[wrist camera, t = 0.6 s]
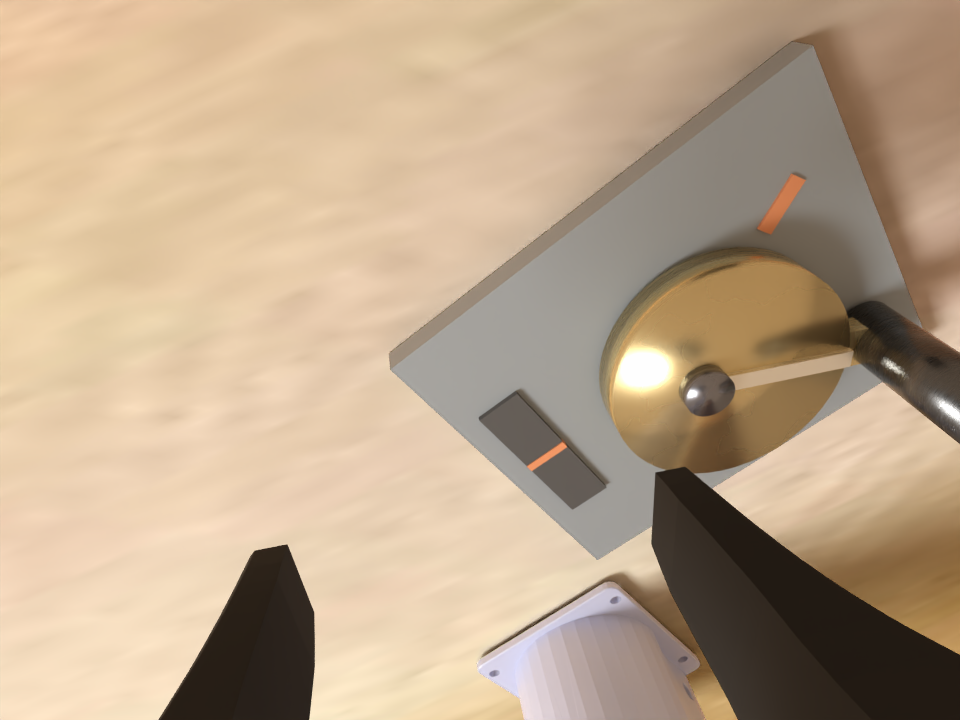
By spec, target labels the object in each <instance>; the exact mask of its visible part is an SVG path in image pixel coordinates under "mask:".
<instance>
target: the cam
mask: <svg viewBox="0 0 960 720" xmlns="http://www.w3.org/2000/svg"><path fill="white" fill-rule="evenodd" d="M858 364H861V365H862V366H863V367H865V368H866V369H867V370H868V371H870V372H871V373H872V374H873V375H875V376H876V377H877V378H878V379H880V380H881V381H882V382H883V383H885V384H886V385H887V386H888V387H890V388H891V389H892V390H893V391H895V392H896V393H897V394H898V395H900V396H901V397H902V398H903V399H905V400H906V401H907V402H908V403H910V404H911V405H912V406H913V407H915V408H916V409H917V410H918V411H919V412H921V413H922V414H923V415H924V416H926V417H927V418H928V419H929V420H931V421H932V422H933V423H934V424H936V425H937V426H938V427H939V428H941V429H942V430H943V431H944V432H946V433H947V434H948V435H949V436H951V437H952V438H953V439H954V440H956V441H957V442H958V443H959V444H960V353H959V352H958V351H956V350H955V349H953V348H952V347H950V346H949V345H947V344H946V343H944V342H943V341H941V340H939V339H938V338H936V337H935V336H933V335H932V334H930V333H929V332H927V331H926V330H924V329H923V328H921V327H919V326H918V325H916V324H915V323H913V322H912V321H910V320H909V319H907V318H906V317H904V316H903V315H901V314H900V313H898V312H896V311H895V310H893V309H892V308H890V307H889V306H887V305H886V304H884V303H882V302H879V301H868V302H865V303H862V304H860V305H858V306H856V307H854V308H853V309H851V310H850V311H849V312H848V313H846V310H845V307H844V305H843V303H842V302H841V300H840V298H839V297H838V295H837V294H836V293H835V291H834V290H833V289H832V288H831V287H830V286H829V285H828V284H827V283H825V282H824V281H823V280H821V279H820V278H819V277H817V276H816V275H814V274H813V273H811V272H810V271H808V270H807V269H805V268H804V267H803V266H801V265H800V264H798V263H797V262H795V261H794V260H792V259H791V258H789V257H787V256H785V255H783V254H781V253H778V252H774V251H771V250H768V249H762V248H755V247H734V248H726V249H719V250H715V251H711V252H708V253H704V254H701V255H699V256H696V257H693V258H691V259H688V260H686V261H684V262H682V263H680V264H678V265H676V266H674V267H673V268H671V269H669V270H668V271H666V272H665V273H663V274H662V275H660V276H659V277H657V278H656V279H655V280H654V281H652V282H651V283H650V284H649V285H647V286H646V287H645V288H644V289H643V290H642V291H641V292H640V293H639V294H638V295H637V296H636V297H635V298H634V299H633V300H632V301H631V302H630V303H629V305H628V306H627V307H626V308H625V310H624V311H623V312H622V314H621V315H620V317H619V318H618V320H617V321H616V323H615V324H614V326H613V328H612V330H611V332H610V334H609V336H608V338H607V341H606V344H605V347H604V350H603V352H602V357H601V362H600V368H599V385H600V393H601V396H602V400H603V403H604V405H605V408H606V410H607V412H608V414H609V416H610V417H611V419H612V421H613V423H614V425H615V426H616V428H617V430H618V432H619V434H620V435H621V437H622V439H623V440H624V442H625V443H626V444H627V446H628V447H629V448H630V449H631V450H632V451H633V452H634V453H635V454H636V455H637V456H638V457H640V458H641V459H643V460H644V461H646V462H647V463H649V464H651V465H654V466H656V467H658V468H661V469H665V470H670V469H675V468H681V467H686V468H688V469H689V470H690V471H691V472H693V473H694V474H697V473H710V472H716V471H722V470H726V469H730V468H734V467H737V466H740V465H743V464H745V463H748V462H751V461H753V460H755V459H757V458H759V457H762V456H764V455H765V454H767V453H769V452H771V451H772V450H774V449H776V448H778V447H779V446H781V445H782V444H783V443H785V442H786V441H788V440H789V439H791V438H792V437H793V436H794V435H796V434H797V433H798V432H799V431H800V430H802V429H803V428H804V427H805V426H806V425H807V424H808V423H809V422H810V421H811V420H812V419H813V418H814V417H815V416H816V414H817V413H818V412H819V411H820V410H821V409H822V407H823V406H824V405H825V403H826V402H827V400H828V399H829V398H830V396H831V395H832V393H833V391H834V389H835V388H836V386H837V384H838V382H839V380H840V378H841V375H842V373H843V371H844V368H846V367H850V366H853V365H858Z"/></svg>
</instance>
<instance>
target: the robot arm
mask: <svg viewBox="0 0 960 720" xmlns="http://www.w3.org/2000/svg"><path fill="white" fill-rule="evenodd" d="M651 544H652V547H653V549H654V552H655V555H656V557H657V560H658V562H659V565H660V568H661V570H662V573H663V575H664V578H665V580H666V582H667V585H668V587H669V590H670V592H671V594H672V596H673V598H674V600H675V602H676V604H677V606H678V607H679V609H680V611H681V613H682V615H683V617H684V619H685V621H686V622H687V624H688V626H689V628H690V630H691V632H692V634H693V636H694V637H695V639H696V641H697V643H698V645H699V647H700V648H701V650H702V652H703V654H704V656H705V658H706V660H707V661H708V663H709V665H710V667H711V669H712V671H713V672H714V674H715V676H716V678H717V680H718V682H719V684H720V685H721V687H722V689H723V691H724V693H725V695H726V697H727V698H728V700H729V702H730V704H731V707H732V709H733V711H734V713H735V715H736V717H737V719H738V720H960V655H959V654H957V653H955V652H953V651H952V650H950V649H948V648H946V647H944V646H942V645H940V644H938V643H937V642H935V641H933V640H931V639H929V638H927V637H925V636H923V635H921V634H920V633H918V632H916V631H914V630H912V629H910V628H908V627H907V626H905V625H903V624H901V623H900V622H898V621H896V620H894V619H893V618H891V617H889V616H887V615H886V614H884V613H882V612H881V611H879V610H877V609H876V608H874V607H872V606H871V605H869V604H868V603H866V602H864V601H863V600H861V599H859V598H858V597H856V596H855V595H853V594H851V593H850V592H848V591H847V590H845V589H844V588H842V587H840V586H839V585H837V584H836V583H835V582H833V581H832V580H830V579H829V578H827V577H826V576H824V575H823V574H821V573H820V572H818V571H817V570H816V569H814V568H813V567H811V566H810V565H809V564H807V563H806V562H804V561H803V560H801V559H800V558H799V557H797V556H796V555H795V554H793V553H792V552H791V551H789V550H788V549H786V548H785V547H784V546H782V545H781V544H780V543H779V542H777V541H776V540H775V539H773V538H772V537H771V536H770V535H768V534H767V533H766V532H764V531H763V530H762V529H760V528H759V527H758V526H757V525H755V524H754V523H753V522H752V521H750V520H749V519H748V518H747V517H745V516H744V515H743V514H742V513H740V512H739V511H738V510H737V509H736V508H734V507H733V506H732V505H731V504H729V503H728V502H727V501H726V500H725V499H723V498H722V497H721V496H720V495H719V494H717V493H716V492H715V491H714V490H713V489H712V488H710V487H709V486H708V485H707V484H706V483H704V482H703V481H702V480H701V479H700V478H699V477H697V476H696V475H695V474H694V473H693V472H691V471H690V470H689V469H688V468H686V467H681V468H675V469H670V470H665V471H660V472H655V487H654V505H653V524H652V542H651ZM699 666H700V662H699V660H698V658H697V656H696V655H695V654H694V653H693V652H691V651H690V650H689V649H688V648H687V647H686V646H685V645H684V644H683V643H682V642H680V641H679V640H678V639H677V638H676V637H675V636H674V635H673V634H672V633H671V632H669V631H668V630H667V629H666V628H665V627H664V626H663V625H662V624H661V623H660V622H658V621H657V620H656V619H655V618H654V617H653V616H652V615H651V614H650V613H649V612H647V611H646V610H645V609H644V608H643V607H642V606H641V605H640V604H639V603H638V602H636V601H635V600H634V599H633V598H632V597H631V596H630V595H629V594H628V593H627V592H625V591H624V590H623V589H622V588H621V587H620V586H619V585H618V584H617V583H615V582H610V581H609V582H605V583H603V584H601V585H599V586H598V587H596V588H595V589H593V590H591V591H590V592H588V593H586V594H585V595H583V596H582V597H580V598H578V599H577V600H575V601H573V602H572V603H570V604H569V605H567V606H565V607H564V608H562V609H560V610H559V611H557V612H556V613H554V614H552V615H551V616H549V617H547V618H546V619H544V620H543V621H541V622H539V623H538V624H536V625H534V626H533V627H531V628H529V629H528V630H526V631H525V632H523V633H521V634H520V635H518V636H516V637H515V638H513V639H512V640H510V641H508V642H507V643H505V644H503V645H502V646H500V647H499V648H497V649H495V650H494V651H492V652H490V653H489V654H487V655H486V656H484V657H482V658H481V659H480V660H479V661H478V662H477V669H478V672H479V673H480V674H481V675H483V676H484V677H486V678H488V679H489V680H491V681H492V682H494V683H496V684H497V685H499V686H500V687H502V688H504V689H505V690H507V691H508V692H510V693H512V694H513V695H515V696H516V697H518V698H519V699H520V703H521V707H522V712H523V716H524V720H706V719H705V717H704V714H703V712H702V710H701V708H700V706H699V703H698V701H697V699H696V697H695V695H694V693H693V690H692V688H691V686H690V684H689V682H688V679H687V677H686V675H688V674H690V673H691V672H693V671H695V670H696V669H698V668H699ZM314 668H315V632H314V611H313V608H312V606H311V603H310V601H309V598H308V596H307V593H306V591H305V588H304V586H303V583H302V580H301V578H300V575H299V573H298V570H297V568H296V565H295V563H294V560H293V557H292V555H291V552H290V550H289V547H288V545H282V546H276V547H271V548H266V549H261V550H256V551H254V552H253V554H252V555H251V556H250V558H249V560H248V562H247V564H246V566H245V568H244V570H243V572H242V574H241V576H240V578H239V580H238V582H237V584H236V586H235V588H234V590H233V592H232V594H231V596H230V598H229V600H228V602H227V604H226V606H225V608H224V609H223V611H222V613H221V615H220V617H219V619H218V621H217V623H216V624H215V626H214V628H213V630H212V632H211V633H210V635H209V637H208V639H207V640H206V642H205V644H204V646H203V648H202V649H201V651H200V653H199V655H198V656H197V658H196V660H195V662H194V663H193V665H192V667H191V668H190V670H189V672H188V673H187V675H186V677H185V678H184V680H183V681H182V683H181V685H180V686H179V688H178V689H177V691H176V693H175V694H174V696H173V698H172V699H171V701H170V702H169V704H168V706H167V707H166V709H165V710H164V712H163V714H162V715H161V717H160V718H159V720H309V716H310V707H311V697H312V688H313V678H314Z"/></svg>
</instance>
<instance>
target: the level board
mask: <svg viewBox="0 0 960 720" xmlns="http://www.w3.org/2000/svg"><path fill="white" fill-rule="evenodd" d="M734 247H755V248H762V249H768V250H771V251H774V252H778V253H781V254H783V255H785V256H787V257H789V258H791V259H792V260H794V261H795V262H797V263H798V264H800V265H801V266H803V267H804V268H805V269H807V270H808V271H810V272H811V273H813V274H814V275H816V276H817V277H819V278H820V279H821V280H823V281H824V282H825V283H827V284H828V285H829V286H830V287H831V288H832V289H833V290H834V291H835V293H836V294H837V295H838V297H839V298H840V300H841V302H842V303H843V305H844V307H845V310H846V313H848V312H849V311H850V310H851V309H853V308H854V307H856V306H858V305H860V304H862V303H865V302H868V301H879V302H882V303H884V304H886V305H887V306H889V307H890V308H892V309H893V310H895V311H896V312H898V313H900V314H901V315H903V316H904V317H906V318H907V319H909V320H910V321H912V322H913V323H915V324H916V325H918V326H919V327H921V328H922V325H921V323H920V320H919V318H918V315H917V312H916V310H915V307H914V305H913V302H912V299H911V297H910V294H909V292H908V289H907V287H906V284H905V281H904V279H903V276H902V274H901V271H900V268H899V266H898V263H897V261H896V258H895V256H894V253H893V250H892V248H891V245H890V243H889V240H888V237H887V235H886V232H885V230H884V227H883V225H882V222H881V219H880V217H879V214H878V212H877V209H876V206H875V204H874V201H873V199H872V196H871V194H870V191H869V188H868V186H867V183H866V181H865V178H864V175H863V173H862V170H861V168H860V165H859V163H858V160H857V157H856V155H855V152H854V150H853V147H852V144H851V142H850V139H849V137H848V134H847V132H846V129H845V126H844V124H843V121H842V119H841V116H840V113H839V111H838V108H837V106H836V103H835V101H834V98H833V95H832V93H831V90H830V88H829V85H828V82H827V80H826V77H825V75H824V72H823V70H822V67H821V64H820V62H819V59H818V57H817V54H816V51H815V49H814V46H813V45H809V44H803V43H798V42H793V41H792V42H790V43H789V44H788V45H787V46H785V47H784V48H783V49H781V50H780V51H779V52H778V53H776V54H775V55H774V56H772V57H771V58H770V59H769V60H767V61H766V62H765V63H763V64H762V65H761V66H759V67H758V68H757V69H756V70H754V71H753V72H752V73H750V74H749V75H748V76H747V77H745V78H744V79H743V80H741V81H740V82H739V83H738V84H736V85H735V86H734V87H732V88H731V89H730V90H728V91H727V92H726V93H725V94H723V95H722V96H721V97H719V98H718V99H717V100H716V101H714V102H713V103H712V104H710V105H709V106H708V107H707V108H705V109H704V110H703V111H701V112H700V113H699V114H698V115H696V116H695V117H694V118H692V119H691V120H690V121H688V122H687V123H686V124H685V125H683V126H682V127H681V128H679V129H678V130H677V131H676V132H674V133H673V134H672V135H670V136H669V137H668V138H667V139H665V140H664V141H663V142H661V143H660V144H659V145H657V146H656V147H655V148H654V149H652V150H651V151H650V152H648V153H647V154H646V155H645V156H643V157H642V158H641V159H639V160H638V161H637V162H636V163H634V164H633V165H632V166H630V167H629V168H628V169H627V170H625V171H624V172H623V173H621V174H620V175H619V176H617V177H616V178H615V179H614V180H612V181H611V182H610V183H608V184H607V185H606V186H605V187H603V188H602V189H601V190H599V191H598V192H597V193H596V194H594V195H593V196H592V197H590V198H589V199H588V200H586V201H585V202H584V203H583V204H581V205H580V206H579V207H577V208H576V209H575V210H574V211H572V212H571V213H570V214H568V215H567V216H566V217H565V218H563V219H562V220H561V221H559V222H558V223H557V224H555V225H554V226H553V227H552V228H550V229H549V230H548V231H546V232H545V233H544V234H543V235H541V236H540V237H539V238H537V239H536V240H535V241H534V242H532V243H531V244H530V245H528V246H527V247H526V248H525V249H523V250H522V251H521V252H519V253H518V254H517V255H515V256H514V257H513V258H512V259H510V260H509V261H508V262H506V263H505V264H504V265H503V266H501V267H500V268H499V269H497V270H496V271H495V272H494V273H492V274H491V275H490V276H488V277H487V278H486V279H484V280H483V281H482V282H481V283H479V284H478V285H477V286H475V287H474V288H473V289H472V290H470V291H469V292H468V293H466V294H465V295H464V296H463V297H461V298H460V299H459V300H457V301H456V302H455V303H453V304H452V305H451V306H450V307H448V308H447V309H446V310H444V311H443V312H442V313H441V314H439V315H438V316H437V317H435V318H434V319H433V320H432V321H430V322H429V323H428V324H426V325H425V326H424V327H423V328H421V329H420V330H419V331H417V332H416V333H415V334H413V335H412V336H411V337H410V338H408V339H407V340H406V341H404V342H403V343H402V344H401V345H399V346H398V347H397V348H395V349H394V350H393V351H392V352H390V353H389V360H390V370H391V371H392V372H393V373H394V374H396V375H397V376H398V377H399V378H400V379H401V380H402V381H403V382H404V383H405V384H406V385H408V386H409V387H410V388H411V389H412V390H413V391H414V392H415V393H416V394H417V395H418V396H419V397H421V398H422V399H423V400H424V401H425V402H426V403H427V404H428V405H429V406H430V407H431V408H433V409H434V410H435V411H436V412H437V413H438V414H439V415H440V416H441V417H442V418H443V419H445V420H446V421H447V422H448V423H449V424H450V425H451V426H452V427H453V428H454V429H455V430H456V431H458V432H459V433H460V434H461V435H462V436H463V437H464V438H465V439H466V440H467V441H468V442H470V443H471V444H472V445H473V446H474V447H475V448H476V449H477V450H478V451H479V452H480V453H482V454H483V455H484V456H485V457H486V458H487V459H488V460H489V461H490V462H491V463H492V464H493V465H495V466H496V467H497V468H498V469H499V470H500V471H501V472H502V473H503V474H504V475H505V476H507V477H508V478H509V479H510V480H511V481H512V482H513V483H514V484H515V485H516V486H517V487H519V488H520V489H521V490H522V491H523V492H524V493H525V494H526V495H527V496H528V497H529V498H530V499H532V500H533V501H534V502H535V503H536V504H537V505H538V506H539V507H540V508H541V509H542V510H544V511H545V512H546V513H547V514H548V515H549V516H550V517H551V518H552V519H553V520H554V521H556V522H557V523H558V524H559V525H560V526H561V527H562V528H563V529H564V530H565V531H566V532H567V533H569V534H570V535H571V536H572V537H573V538H574V539H575V540H576V541H577V542H578V543H579V544H581V545H582V546H583V547H584V548H585V549H586V550H587V551H588V552H589V553H590V554H591V555H593V556H594V557H595V558H596V559H597V560H598V559H600V558H602V557H603V556H605V555H606V554H608V553H610V552H611V551H613V550H614V549H616V548H618V547H619V546H621V545H622V544H624V543H626V542H627V541H629V540H630V539H632V538H634V537H635V536H637V535H638V534H640V533H642V532H643V531H645V530H646V529H648V528H650V527H651V526H652V524H653V505H654V487H655V472H660V471H665V469H661V468H658V467H656V466H654V465H651V464H649V463H647V462H646V461H644V460H643V459H641V458H640V457H638V456H637V455H636V454H635V453H634V452H633V451H632V450H631V449H630V448H629V447H628V446H627V444H626V443H625V442H624V440H623V439H622V437H621V435H620V434H619V432H618V430H617V428H616V426H615V425H614V423H613V421H612V419H611V417H610V416H609V414H608V412H607V410H606V408H605V405H604V403H603V400H602V396H601V393H600V385H599V368H600V362H601V357H602V352H603V350H604V347H605V344H606V341H607V338H608V336H609V334H610V332H611V330H612V328H613V326H614V324H615V323H616V321H617V320H618V318H619V317H620V315H621V314H622V312H623V311H624V310H625V308H626V307H627V306H628V305H629V303H630V302H631V301H632V300H633V299H634V298H635V297H636V296H637V295H638V294H639V293H640V292H641V291H642V290H643V289H644V288H645V287H646V286H647V285H649V284H650V283H651V282H652V281H654V280H655V279H656V278H657V277H659V276H660V275H662V274H663V273H665V272H666V271H668V270H669V269H671V268H673V267H674V266H676V265H678V264H680V263H682V262H684V261H686V260H688V259H691V258H693V257H696V256H699V255H701V254H704V253H708V252H711V251H715V250H719V249H726V248H734ZM881 382H882V381H881V380H880V379H878V378H877V377H876V376H875V375H873V374H872V373H871V372H870V371H868V370H867V369H866V368H865V367H863V366H862V365H861V364H858V365H853V366H850V367H846V368H844V371H843V373H842V375H841V378H840V380H839V382H838V384H837V386H836V388H835V389H834V391H833V393H832V395H831V396H830V398H829V399H828V400H827V402H826V403H825V405H824V406H823V407H822V409H821V410H820V411H819V412H818V413H817V414H816V416H815V417H814V418H813V419H812V420H811V421H810V422H809V423H808V424H807V425H806V426H805V427H804V428H803V429H802V430H800V431H799V432H798V433H797V434H796V435H794V436H793V437H795V436H797V435H798V434H800V433H801V432H803V431H805V430H806V429H808V428H809V427H811V426H813V425H814V424H816V423H817V422H819V421H821V420H822V419H824V418H825V417H827V416H829V415H830V414H832V413H833V412H835V411H837V410H838V409H840V408H841V407H843V406H845V405H846V404H848V403H849V402H851V401H853V400H854V399H856V398H857V397H859V396H861V395H862V394H864V393H865V392H867V391H869V390H870V389H872V388H873V387H875V386H877V385H878V384H880V383H881ZM793 437H792V438H793ZM792 438H791V439H792ZM789 440H790V439H789ZM789 440H788V441H789ZM786 442H787V441H786ZM783 444H784V443H783ZM772 451H773V450H772ZM767 454H768V453H767ZM765 455H766V454H765ZM765 455H764V456H765ZM762 457H763V456H762ZM760 458H761V457H759V458H757V459H755V460H753V461H751V462H748V463H745V464H743V465H740V466H737V467H734V468H730V469H726V470H722V471H716V472H710V473H697V474H695V475H696V476H697V477H699V478H700V479H701V480H702V481H703V482H704V483H706V484H707V485H708V486H709V487H710V488H714V487H715V486H717V485H718V484H720V483H722V482H723V481H725V480H726V479H728V478H730V477H731V476H733V475H734V474H736V473H738V472H739V471H741V470H742V469H744V468H746V467H747V466H749V465H750V464H752V463H754V462H755V461H757V460H758V459H760Z"/></svg>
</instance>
